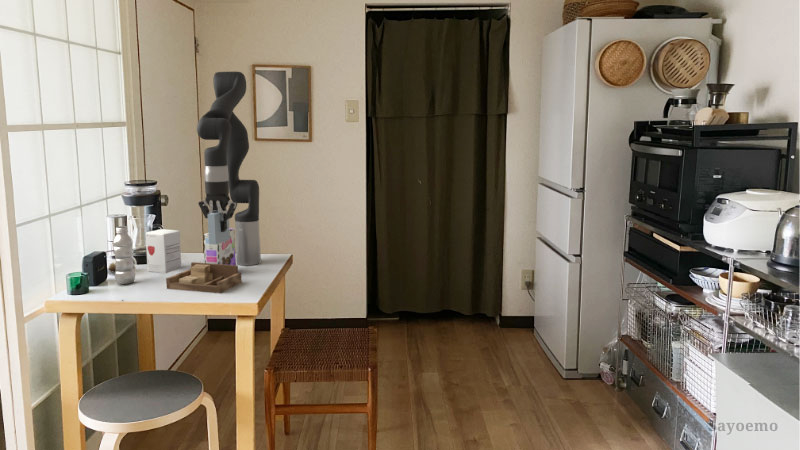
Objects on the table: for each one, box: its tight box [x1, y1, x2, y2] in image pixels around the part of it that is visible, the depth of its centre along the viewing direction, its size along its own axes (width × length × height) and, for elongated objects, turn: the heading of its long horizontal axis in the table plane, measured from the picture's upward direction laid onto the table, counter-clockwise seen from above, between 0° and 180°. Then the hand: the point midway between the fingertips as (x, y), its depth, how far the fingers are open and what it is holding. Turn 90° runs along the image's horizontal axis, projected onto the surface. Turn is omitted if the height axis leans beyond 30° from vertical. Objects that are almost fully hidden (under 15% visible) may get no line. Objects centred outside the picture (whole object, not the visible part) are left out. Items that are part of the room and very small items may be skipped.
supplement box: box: [145, 228, 182, 274], centre depth 244 cm, size 9×9×15 cm
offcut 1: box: [179, 276, 199, 284], centre depth 217 cm, size 4×5×3 cm
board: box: [207, 209, 230, 245], centre depth 214 cm, size 9×2×10 cm, turn 165°
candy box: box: [203, 227, 237, 265], centre depth 238 cm, size 14×6×16 cm, turn 168°
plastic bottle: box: [112, 225, 136, 285], centre depth 224 cm, size 6×7×20 cm
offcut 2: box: [189, 264, 210, 276], centre depth 222 cm, size 4×5×3 cm
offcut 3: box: [189, 273, 213, 285], centre depth 222 cm, size 5×6×3 cm
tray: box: [165, 261, 242, 294], centre depth 219 cm, size 14×20×7 cm
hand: (219, 231), depth 215 cm, fingers closed on board, 2 cm apart
